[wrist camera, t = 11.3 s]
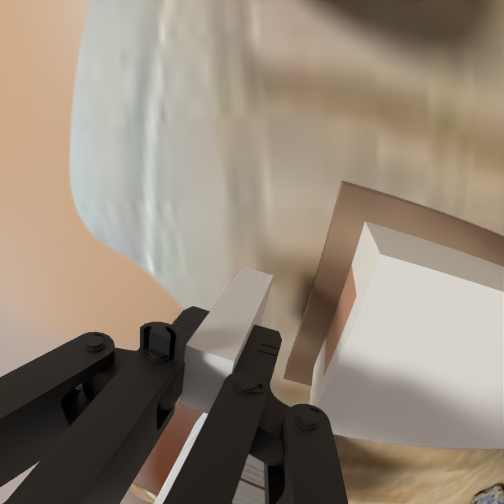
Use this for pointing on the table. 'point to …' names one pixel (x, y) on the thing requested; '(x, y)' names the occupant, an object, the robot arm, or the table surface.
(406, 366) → the panel
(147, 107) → the table surface
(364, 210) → the board
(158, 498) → the supplement box
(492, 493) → the mineral specimen
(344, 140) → the table surface
